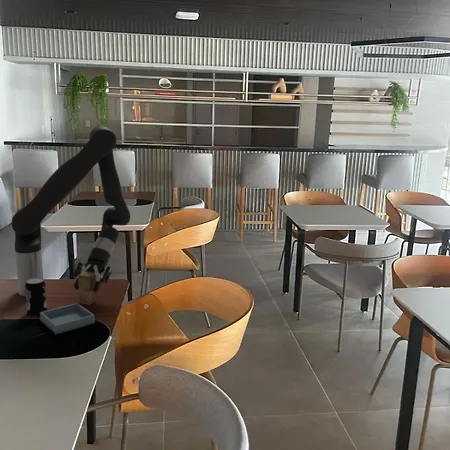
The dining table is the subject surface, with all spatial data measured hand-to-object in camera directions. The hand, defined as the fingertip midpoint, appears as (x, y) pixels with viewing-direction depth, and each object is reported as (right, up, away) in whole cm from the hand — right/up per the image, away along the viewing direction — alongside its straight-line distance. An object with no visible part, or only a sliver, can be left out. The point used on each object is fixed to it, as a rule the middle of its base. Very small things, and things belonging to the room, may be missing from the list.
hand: (85, 290), depth 171 cm
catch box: (-1, -9, -15) cm, 17 cm away
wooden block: (0, -5, +3) cm, 5 cm away
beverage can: (-14, -7, -8) cm, 18 cm away
